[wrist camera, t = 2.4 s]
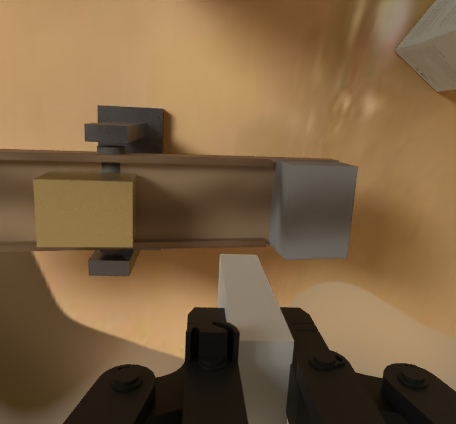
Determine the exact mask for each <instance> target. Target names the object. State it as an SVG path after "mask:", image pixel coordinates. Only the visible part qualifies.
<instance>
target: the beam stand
mask: <svg viewBox="0 0 456 424" xmlns="http://www.w3.org/2000/svg"><path fill="white" fill-rule="evenodd" d="M85 141H90V142H98V146H100V145H115V146H125V153H153V154H163V109H157V108H138V107H119V106H99V105H98V123H88V124H85ZM140 250H161V249H126V250H125V251H123V252H120V253H103V252H101V251H100V250H96V251H95V252H94V254H93V255H92V256H91V258H90V259H89V260H88V261H89V275H99V276H130V273H131V271H132V268H133V266H134V264H135V261H136V259H137V257H138V254H139V252H140Z"/></svg>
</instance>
